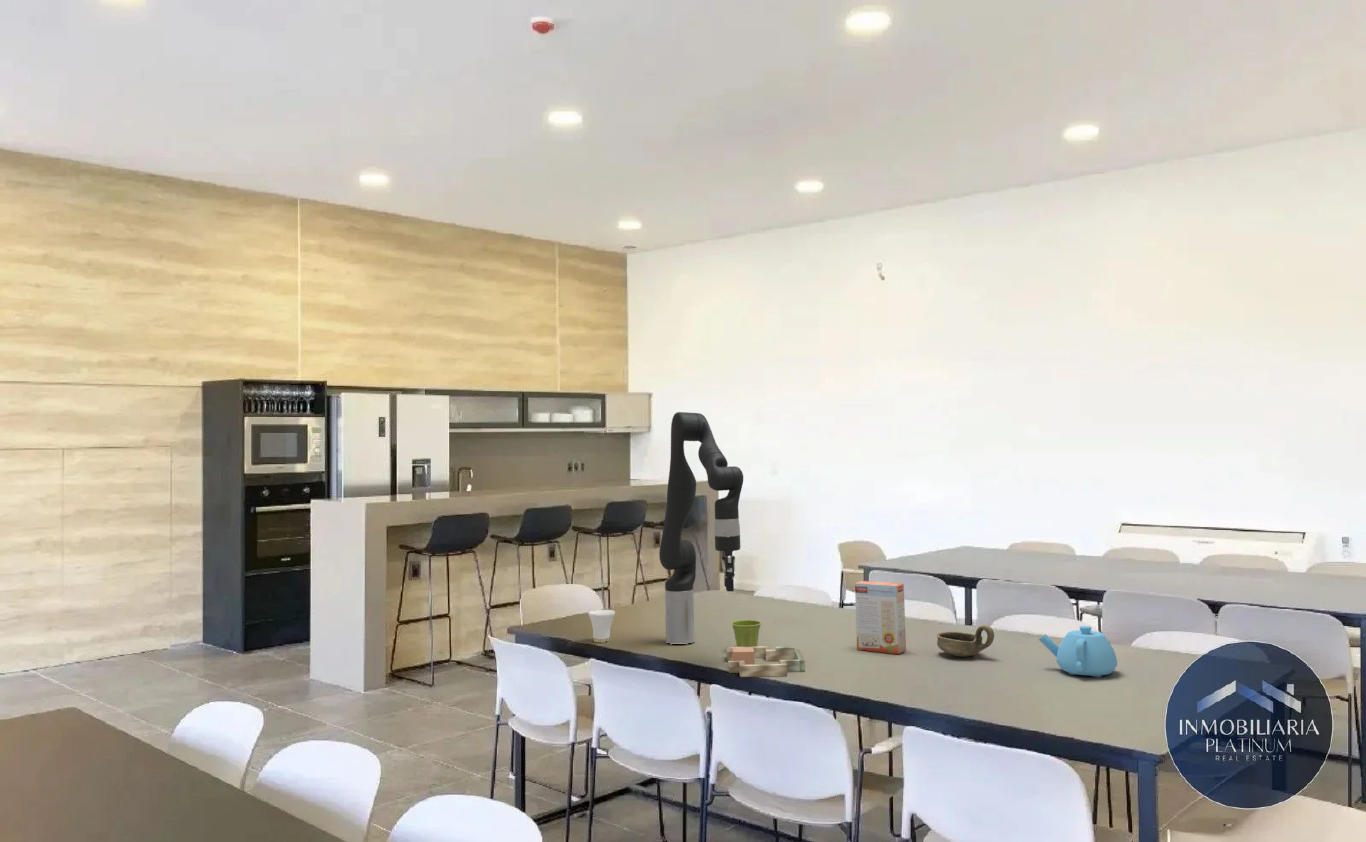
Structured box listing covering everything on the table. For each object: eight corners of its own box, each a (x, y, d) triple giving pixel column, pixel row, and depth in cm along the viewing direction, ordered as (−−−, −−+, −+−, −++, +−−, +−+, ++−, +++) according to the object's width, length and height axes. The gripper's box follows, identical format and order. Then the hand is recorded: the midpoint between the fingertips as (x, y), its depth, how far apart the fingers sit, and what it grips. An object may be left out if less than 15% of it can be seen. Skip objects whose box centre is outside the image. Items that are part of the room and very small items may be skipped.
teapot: (1111, 684, 254) (1109, 635, 255) (1031, 675, 265) (1030, 629, 265) (1122, 668, 271) (1121, 622, 271) (1047, 660, 282) (1046, 617, 282)
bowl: (949, 648, 301) (948, 616, 301) (1003, 656, 289) (1002, 622, 289) (927, 656, 291) (926, 623, 291) (982, 665, 279) (981, 630, 279)
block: (733, 669, 281) (733, 652, 281) (732, 664, 287) (732, 647, 287) (754, 669, 281) (754, 651, 281) (753, 664, 287) (752, 647, 287)
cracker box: (906, 651, 298) (904, 582, 299) (898, 655, 293) (896, 585, 294) (865, 646, 307) (863, 579, 307) (856, 650, 302) (854, 582, 302)
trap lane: (729, 677, 271) (729, 663, 271) (726, 657, 296) (726, 644, 296) (806, 675, 271) (806, 661, 271) (797, 655, 296) (797, 643, 296)
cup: (583, 643, 321) (583, 613, 321) (596, 638, 329) (595, 608, 330) (607, 645, 317) (607, 614, 318) (620, 639, 326) (619, 609, 326)
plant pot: (741, 655, 298) (741, 626, 298) (726, 649, 307) (725, 622, 307) (767, 651, 303) (767, 623, 303) (751, 646, 311) (751, 618, 311)
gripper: (713, 532, 297) (715, 586, 296) (715, 536, 282) (717, 593, 282) (738, 531, 297) (740, 585, 296) (741, 535, 282) (743, 592, 282)
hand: (729, 589), depth 289 cm, fingers open, 8 cm apart
